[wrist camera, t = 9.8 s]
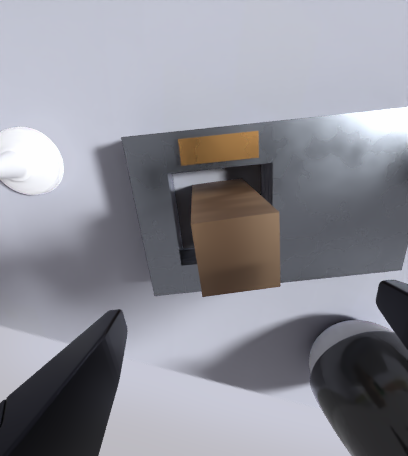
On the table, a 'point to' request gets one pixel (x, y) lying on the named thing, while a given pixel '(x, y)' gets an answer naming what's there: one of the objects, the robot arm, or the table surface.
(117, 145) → the table surface
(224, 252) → the walnut peg
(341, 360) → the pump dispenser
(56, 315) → the table surface
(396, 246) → the grey peg hole board
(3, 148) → the chess piece
